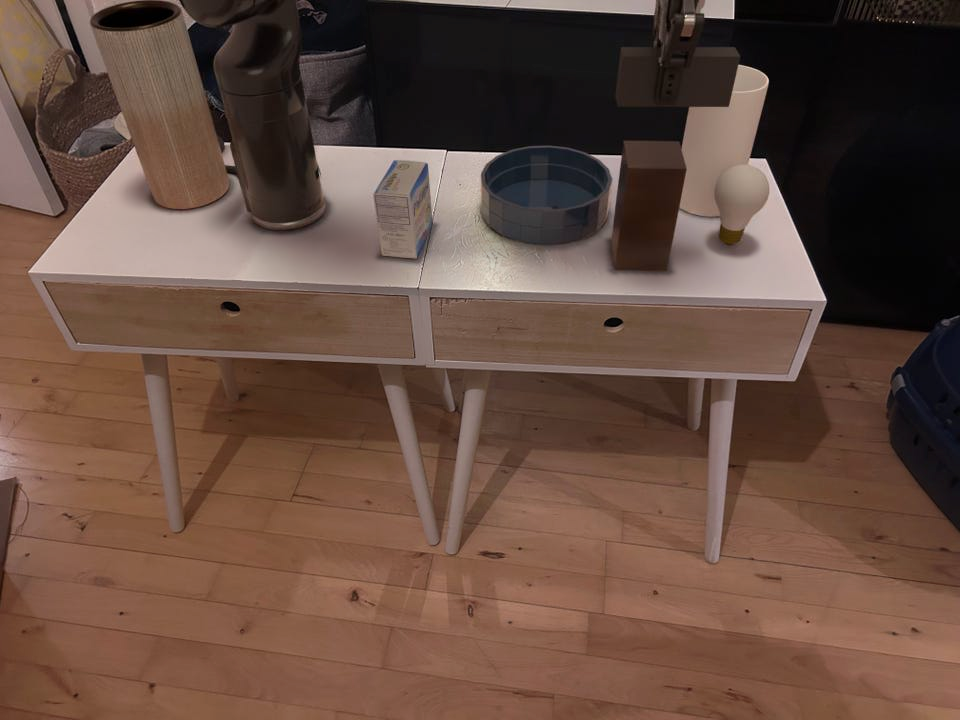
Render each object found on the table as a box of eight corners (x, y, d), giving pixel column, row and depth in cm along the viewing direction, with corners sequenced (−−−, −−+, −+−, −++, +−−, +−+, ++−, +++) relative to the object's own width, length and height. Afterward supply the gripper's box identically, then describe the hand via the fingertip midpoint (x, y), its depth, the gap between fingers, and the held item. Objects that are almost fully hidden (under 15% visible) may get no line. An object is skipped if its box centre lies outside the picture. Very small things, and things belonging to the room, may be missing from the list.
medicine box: (416, 260, 87) (410, 195, 81) (380, 256, 88) (372, 192, 82) (433, 224, 93) (429, 161, 87) (399, 221, 93) (392, 158, 87)
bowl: (457, 222, 93) (455, 186, 89) (523, 168, 102) (524, 134, 99) (569, 262, 86) (572, 225, 83) (628, 201, 96) (633, 166, 92)
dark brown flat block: (617, 107, 74) (623, 56, 70) (615, 96, 75) (620, 46, 72) (729, 107, 73) (740, 56, 70) (723, 96, 75) (735, 46, 72)
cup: (743, 191, 97) (774, 69, 86) (730, 222, 92) (762, 97, 81) (681, 178, 100) (704, 59, 89) (665, 208, 94) (687, 85, 83)
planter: (140, 208, 96) (71, 28, 81) (172, 170, 104) (114, -2, 88) (213, 212, 95) (158, 30, 80) (241, 173, 103) (195, 0, 87)
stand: (614, 270, 85) (628, 167, 76) (610, 240, 89) (623, 140, 80) (667, 271, 85) (687, 168, 76) (661, 241, 89) (679, 141, 80)
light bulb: (720, 224, 92) (738, 149, 85) (763, 243, 88) (785, 167, 82) (693, 243, 89) (709, 168, 82) (736, 263, 85) (757, 187, 79)
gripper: (642, -121, 67) (620, 68, 79) (660, -83, 57) (631, 128, 69) (726, -121, 67) (691, 69, 79) (758, -83, 57) (712, 129, 69)
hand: (663, 95), depth 74 cm, fingers closed on dark brown flat block, 2 cm apart
